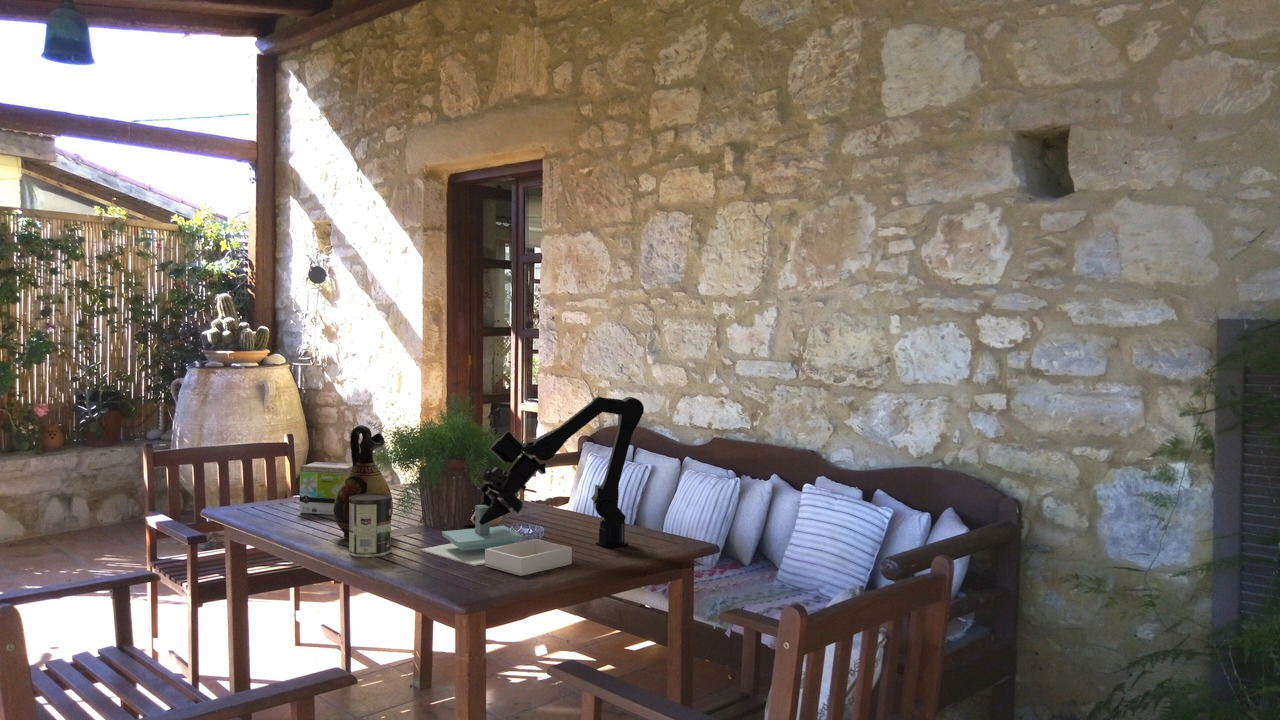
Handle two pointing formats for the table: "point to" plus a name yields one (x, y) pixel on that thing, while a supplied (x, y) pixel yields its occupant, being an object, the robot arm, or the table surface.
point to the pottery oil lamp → (490, 521)
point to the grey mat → (458, 554)
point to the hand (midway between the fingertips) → (477, 522)
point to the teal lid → (482, 534)
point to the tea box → (321, 486)
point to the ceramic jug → (360, 475)
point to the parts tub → (528, 557)
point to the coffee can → (370, 525)
